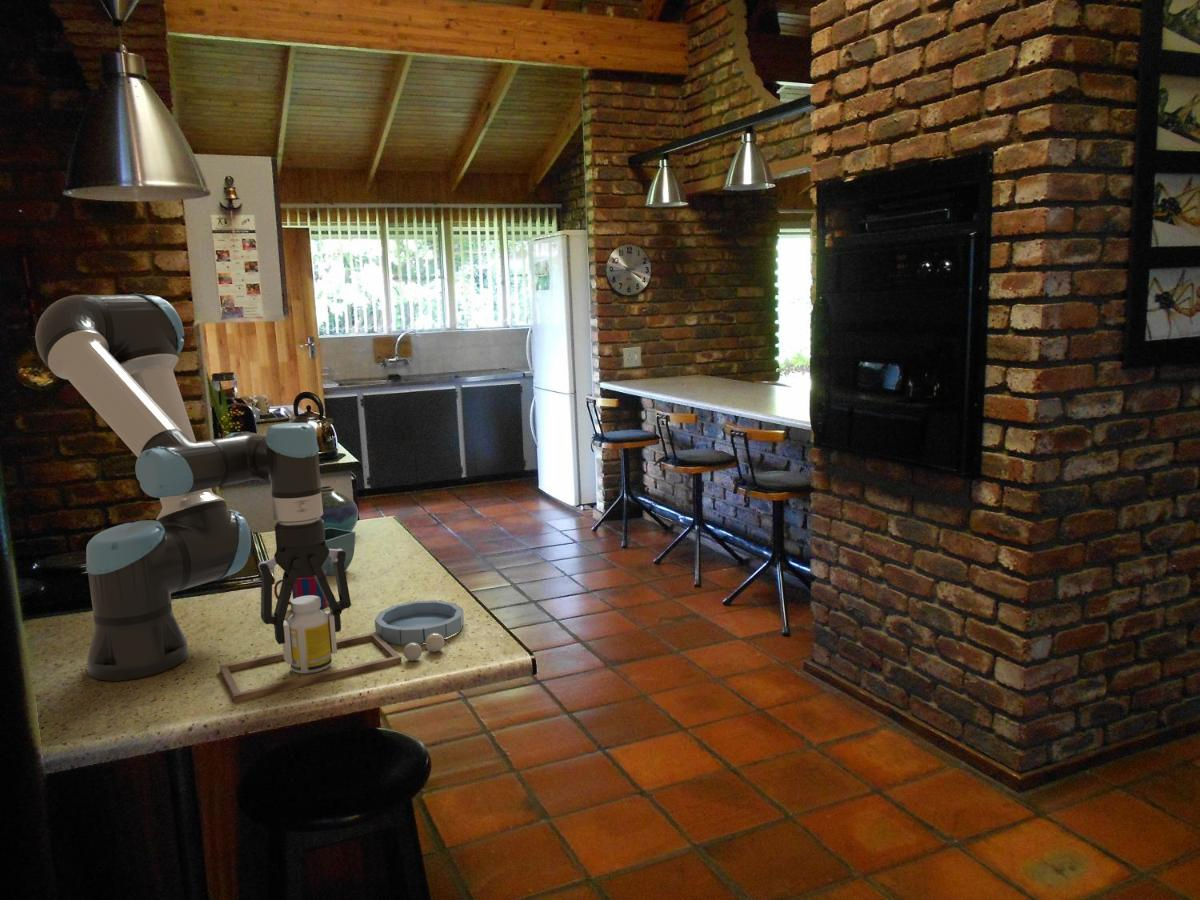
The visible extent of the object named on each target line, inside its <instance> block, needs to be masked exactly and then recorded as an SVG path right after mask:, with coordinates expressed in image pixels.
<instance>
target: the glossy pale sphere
mask: <svg viewBox="0 0 1200 900" xmlns="http://www.w3.org/2000/svg"><path fill="white" fill-rule="evenodd" d="M421 646H422V645H419V644H417V643H414V642H412V643H409V644H407V645H406V646H404V648H403V655H404V658H405V660H407V661H410V662H411V661H412V662H413V661H414V660H415V661H417V660H420V658H421V656H422V654H423V649H422V647H421Z"/></svg>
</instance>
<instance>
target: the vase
mask: <svg viewBox="0 0 1200 900" xmlns="http://www.w3.org/2000/svg"><path fill="white" fill-rule="evenodd" d="M321 497H322V508H323V515H322V516H321V517H320V518H322V520H324V529H326V528H336V529H342V530H348V531H354V528H355V527H356V525H357V523H358V518H359V509H358V506H357V504H356V502H355V501H354V500H353V498H351V497H350V496H348V495H346V494H345V493H342V492H340V491H337V490H336V489H335V488H334V486H333V485H324V486H322V485H321Z"/></svg>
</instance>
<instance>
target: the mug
mask: <svg viewBox="0 0 1200 900" xmlns="http://www.w3.org/2000/svg"><path fill="white" fill-rule="evenodd" d="M322 571H323V573H324V575H325V578H326V580H327V581H328V577H327V576H328V575H327V573H326V571H325V570H323V569H322ZM282 581H283V578H282V579H279V580H277V581H276V582H275V584H274V587H273V591H274V596H275V598H276V599H277V600H278V597H279V594H278V586H279V584H280V583H281V584H282ZM291 595H292V600H293V599H295V598H297V597H301V596H309V595H314V596H319V597H320V598H321V607H320V610H321V611H322V610H323V609H325V608H327V607H329V606H328V604H327V602H326V600H325V598H324V596H323V594H322V592H321V590H320V587H319V585H318V583H317V581H316V579H315V577H314V575H313V576H303V577H301V578H296V581H295V584H294V586H293V589H292V593H291ZM292 600H290V601H289V605H288V606H291V601H292Z"/></svg>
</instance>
